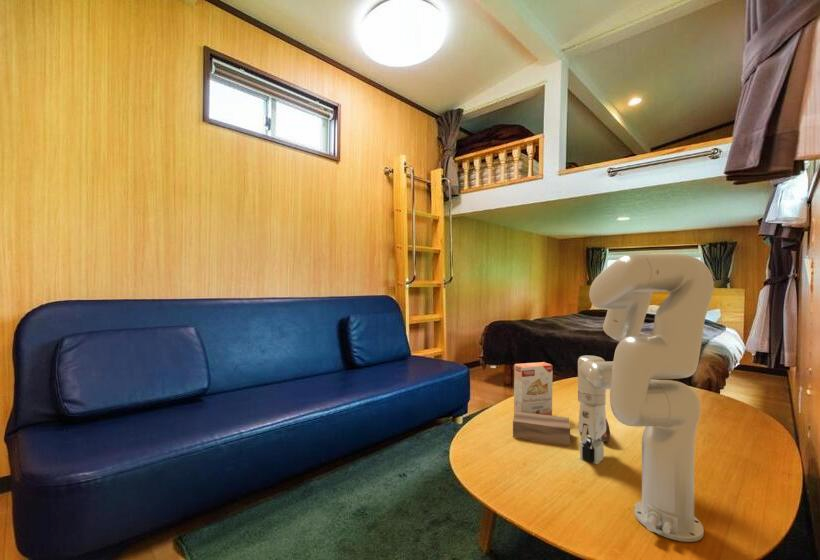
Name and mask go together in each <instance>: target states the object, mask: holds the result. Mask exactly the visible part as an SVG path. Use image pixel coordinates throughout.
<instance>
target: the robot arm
mask: <svg viewBox="0 0 820 560" xmlns="http://www.w3.org/2000/svg"><path fill="white" fill-rule="evenodd" d="M713 278H714V277H713V274H712V272H711V270H710V269H709V267H708V266H707V265H706V264H705V263H704V262H703V261H702V260H701V259H699V258H697V257H694V256H690V255H687V254H679V253H655V254H654V253H650V254H649V253H648V254H647V253H635V254H626V255H624V256H621V257H619V258H618V259H616V260H615V261H614V262H612V264H610V265H609V266H608V267H606V268H605V269H604V270H603V271H601V272H600V273H599V274H598V275H597V276H596V277H595V278H594V280H593V281H592V283H591V285H590V288H589V292H588V294H589V296H588V297H589V300H590V303H591V304H592V305H593V306H594V307H595V308H597V309H602V310H604V309H605V310H607V312H606V315H605V318H604V322H603V325H602V329H603V332H604V333H605V334H606V335H607V336H609V337H610V338H611V339H613V340H615V341H617V342H618V343H617V345H616V348H615V349H614V350H615V351H614V355H613V360H612V361H606V360H605V359H604V358H602V357H601V356H596V355H581V356H579V357H578V359H577V402H579V411H578V413H579V415H578V434H579V436H580V441H581V442H582V458H583V459H582V460H585V461H587V462H591V463H593V462H594V448H593V442H594V440H599V441H601V436H602V435H603V434H604V433H605V432H606V419H607V416H606V415H607V414H606V412H607V411H606V404H607V399H606V398H607V395H606V393H607V391H606V390H609V404H610V409H611V412H612V414H613V416H614V417H615V418H616V419H617V421H619V423H620V424H622V425H626V426H628V427H635V428H637V427H641V428H642V427H644V429H643V433H642V437H641V500H639V501H637V502H635V504H634V506H633V513H634V516H635V518H636V519H637V520H638V521H639V522H640V524H641V525H642V526H644V527H645V528H646V529H647V530H648V531H650V532H652V533H656V534H657V535H659V536H662V537H663V538H667V539H670V540H673V541H678V542H685V543H693V542H697V541H700V540H702V538H703V537H704V534H705V531H704V530H705V529H704V526H703V524H702V522H701V521H700V520H699V519H698V518H697V517H696V516H695V447H696V446H695V444H696V443H695V442H696V441H695V440H696V432H697V427H698V424H699V420H700V416H701V402H700V398H699V397H698V395H697V393H696V392H695V391H694V389H692V388H691V387H690V386H689V385H687V384H685V383H683V382H681V381H677V380H676V379H685V378H689V377H692V376H693V375H694V374H695V373H696V371H697V369H698V365H699V361H700V355H701V348H702V340H703V335H704V328H705V321H706V317H707V314H708V310H709V307H710V304H711V301H712V297H713V294H714V293H713V292H714V279H713ZM658 292H659V293H661V292H662V293H663V292H667V293H668V295H667V296H666V298H665V299H664V300H663V301H662V302H661V304H660V305H659V307H658V308H657V309H656V312H655V315H654V321H653V322H654V323H653V327H652V328H653V329H652V332H651V333H649V334H641V332H642V327H643V325H644V322H645V319H646V315H647V313H648V309H649V307H650V303H651V301H652V297H653V293H658ZM674 379H675V380H674ZM587 439H590V442H589V441H587Z"/></svg>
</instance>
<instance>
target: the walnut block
mask: <svg viewBox="0 0 820 560" xmlns="http://www.w3.org/2000/svg"><path fill="white" fill-rule="evenodd" d="M512 437H516V438H515V439H519V438H522V439H521V440H526V439H528V440H527V441H532V440H533V441H532V442H538V443H546V444H552V445H557V446H558V445H559V446H566V447H571V425H570V418H569V417H565V416H556V415H552V416H551V415H543V414H535V413H527V412H520V411H516V412H515V415H514V414H513V420H512Z"/></svg>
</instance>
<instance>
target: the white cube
mask: <svg viewBox="0 0 820 560" xmlns="http://www.w3.org/2000/svg"><path fill="white" fill-rule="evenodd" d="M587 441H589V442H590V439H587ZM604 447H605V446H604V442H603V441H599V440H594V442H593V448H594V462H592V463H593V464H596V465H599V464H600V463H601V462H602V461H603V460H604V456H605V455H604V454H605V453H604V451H605V450H604ZM579 459H582V460H584V459H583V458H582V442H581V440H580V442H579Z"/></svg>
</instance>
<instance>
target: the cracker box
mask: <svg viewBox="0 0 820 560" xmlns="http://www.w3.org/2000/svg"><path fill="white" fill-rule="evenodd" d="M513 365H514V367H513V368H514V370H513V371H514V372H513V373H514V376H513V377H514V381H513V382H514V383H513V386H514V387H513V416H514V415H515V412H516V411H520V412H527V413H535V414H543V415H551V416H553V379H554V377H553V376H554V375H553V368H554V367H553V365H552V364H551V363H547V362H545V361H542V362H541V361H540V362H539V361H538V362H526V363H515V364H513Z"/></svg>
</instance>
